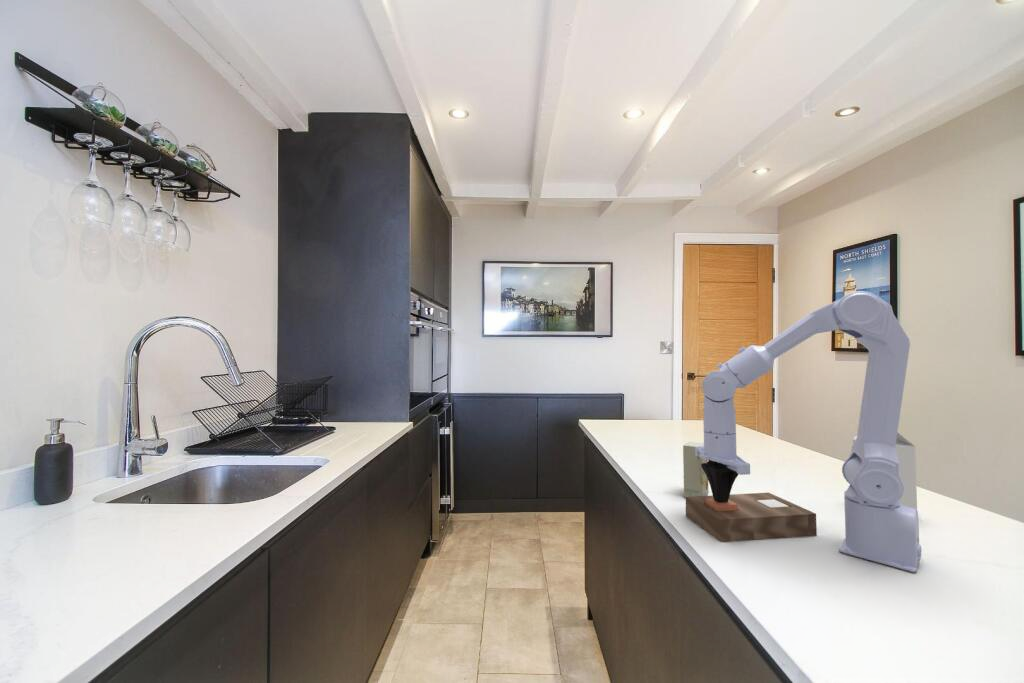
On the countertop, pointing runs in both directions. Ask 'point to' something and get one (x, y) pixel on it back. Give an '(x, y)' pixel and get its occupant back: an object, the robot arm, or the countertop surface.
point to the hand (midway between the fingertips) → (721, 501)
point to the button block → (752, 518)
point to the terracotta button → (721, 505)
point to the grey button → (772, 503)
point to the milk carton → (906, 470)
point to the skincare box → (694, 472)
